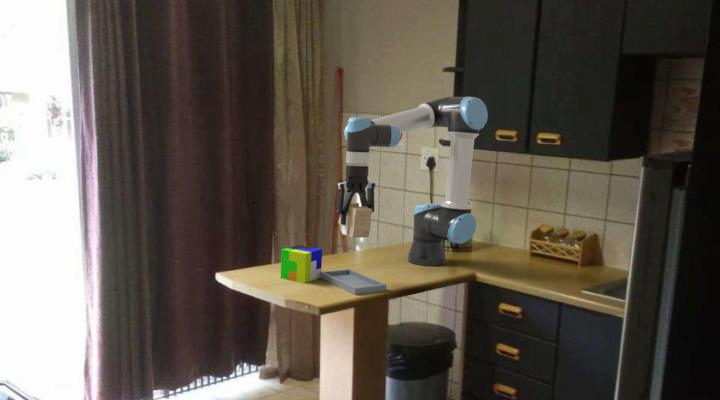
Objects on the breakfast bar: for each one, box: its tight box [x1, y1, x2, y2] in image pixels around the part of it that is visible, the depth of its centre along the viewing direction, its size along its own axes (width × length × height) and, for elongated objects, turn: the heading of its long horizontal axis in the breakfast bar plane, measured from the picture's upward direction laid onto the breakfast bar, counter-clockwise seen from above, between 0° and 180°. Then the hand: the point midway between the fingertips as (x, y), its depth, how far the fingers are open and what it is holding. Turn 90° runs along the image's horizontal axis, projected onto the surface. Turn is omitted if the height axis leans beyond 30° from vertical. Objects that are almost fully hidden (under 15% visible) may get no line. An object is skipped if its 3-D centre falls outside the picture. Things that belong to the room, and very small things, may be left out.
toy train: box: [338, 202, 373, 239], centre depth 211 cm, size 6×17×10 cm, turn 20°
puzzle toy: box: [280, 244, 323, 284], centre depth 218 cm, size 10×10×10 cm
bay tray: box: [319, 268, 387, 295], centre depth 213 cm, size 23×12×2 cm, turn 32°
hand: (354, 233), depth 211 cm, fingers closed on toy train, 6 cm apart
